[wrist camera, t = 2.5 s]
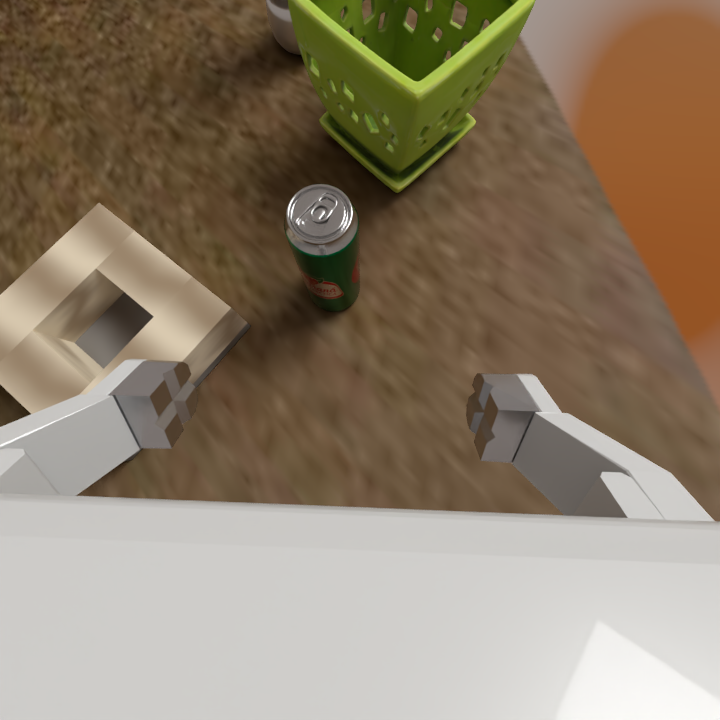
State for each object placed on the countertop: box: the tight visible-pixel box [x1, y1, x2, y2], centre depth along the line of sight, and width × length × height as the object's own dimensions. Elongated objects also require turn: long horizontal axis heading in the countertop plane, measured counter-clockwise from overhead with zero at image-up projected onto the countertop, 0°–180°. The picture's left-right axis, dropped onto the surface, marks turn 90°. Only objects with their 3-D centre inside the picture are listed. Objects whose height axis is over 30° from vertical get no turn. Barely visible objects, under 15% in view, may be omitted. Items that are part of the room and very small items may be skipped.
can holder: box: [0, 203, 251, 461], centre depth 29 cm, size 16×16×5 cm
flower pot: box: [288, 0, 535, 193], centre depth 30 cm, size 14×14×13 cm
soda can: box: [284, 184, 360, 311], centre depth 27 cm, size 5×5×12 cm
